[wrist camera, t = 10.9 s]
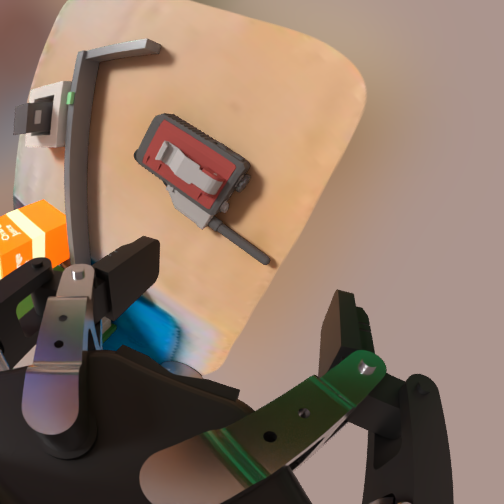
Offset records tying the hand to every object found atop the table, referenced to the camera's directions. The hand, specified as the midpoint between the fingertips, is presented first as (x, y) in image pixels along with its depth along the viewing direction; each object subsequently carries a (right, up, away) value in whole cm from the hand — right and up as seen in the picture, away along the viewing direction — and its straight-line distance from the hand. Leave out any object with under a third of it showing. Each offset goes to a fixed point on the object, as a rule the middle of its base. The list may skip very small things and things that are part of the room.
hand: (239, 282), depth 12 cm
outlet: (-27, +22, +18) cm, 39 cm away
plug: (-27, +21, +18) cm, 39 cm away
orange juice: (-33, +5, +26) cm, 42 cm away
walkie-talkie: (-4, +9, +18) cm, 21 cm away
